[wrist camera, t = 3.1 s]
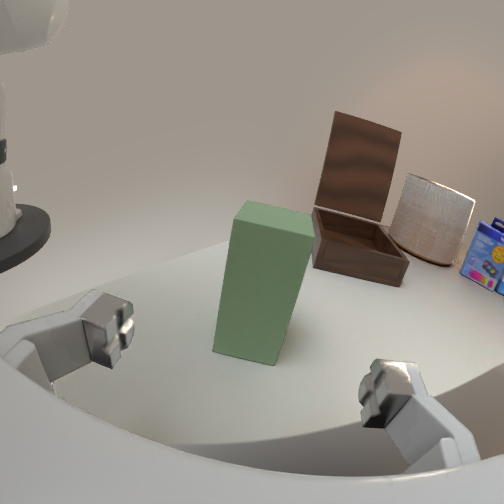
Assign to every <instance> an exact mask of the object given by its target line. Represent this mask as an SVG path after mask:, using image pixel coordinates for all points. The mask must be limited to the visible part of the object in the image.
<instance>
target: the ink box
mask: <svg viewBox="0 0 504 504" xmlns="http://www.w3.org/2000/svg"><path fill="white" fill-rule="evenodd" d="M495 288H496V290H497V292H498V293H500V294H502V295H504V269H503V272H502V274H501V276H500V278H499V280H498V282H497V285H496V287H495Z"/></svg>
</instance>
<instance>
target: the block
mask: <svg viewBox="0 0 504 504" xmlns="http://www.w3.org/2000/svg"><path fill="white" fill-rule="evenodd" d="M314 239H315V234H314V229H313V223H312V218H311V215H310V214H306V213H302V212H298V211H294V210H290V209H285V208H281V207H277V206H272V205H268V204H263V203H259V202H254V201H249V200H247V201H246V202H245V204H244V205H243V206H242V208H241V209H240V211H239V212H238V214H237V215H236V216H235V218H234V220H233V226H232V232H231V238H230V243H229V249H228V255H227V261H226V268H225V274H224V280H223V286H222V292H221V299H220V305H219V311H218V318H217V324H216V331H215V338H214V345H213V351H214V352H218V353H222V354H225V355H229V356H233V357H238V358H242V359H246V360H250V361H255V362H259V363H264V364H269V365H273V366H274V365H275V362H276V360H277V357H278V354H279V351H280V348H281V345H282V342H283V339H284V336H285V333H286V330H287V327H288V324H289V321H290V318H291V315H292V312H293V309H294V306H295V303H296V300H297V296H298V293H299V290H300V287H301V284H302V280H303V277H304V274H305V270H306V267H307V264H308V260H309V257H310V253H311V250H312V246H313V243H314Z"/></svg>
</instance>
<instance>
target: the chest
mask: <svg viewBox="0 0 504 504" xmlns="http://www.w3.org/2000/svg"><path fill="white" fill-rule="evenodd" d="M311 218H312V223H313V229H314V234H315V239H314V243H313V246H312V250H311V252H312V261H313V268H317V269H321V270H326V271H330V272H334V273H339V274H343V275H347V276H352V277H356V278H360V279H365V280H369V281H373V282H378V283H382V284H387V285H391V286H395V287H399V286H400V284H401V281H402V279H403V277H404V274H405V272H406V270H407V267H408V265H409V260H408V259H407V258H406V256H405V255H404V254H403V253H402V251H401V250H400V249H399V248H398V246H397V245H396V244H395V243H394V241H393V240H392V239H391V238H390V237H389V235H388V234H387V233H386V232H385V231H384V229H383V228H382V227H381V226H380V225H379V224H376V223H373V222H369V221H366V220H362V219H358V218H355V217H350V216H347V215H343V214H340V213H336V212H332V211H328V210H324V209H320V208H316V207H314V209H313V213H312V216H311Z"/></svg>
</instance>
